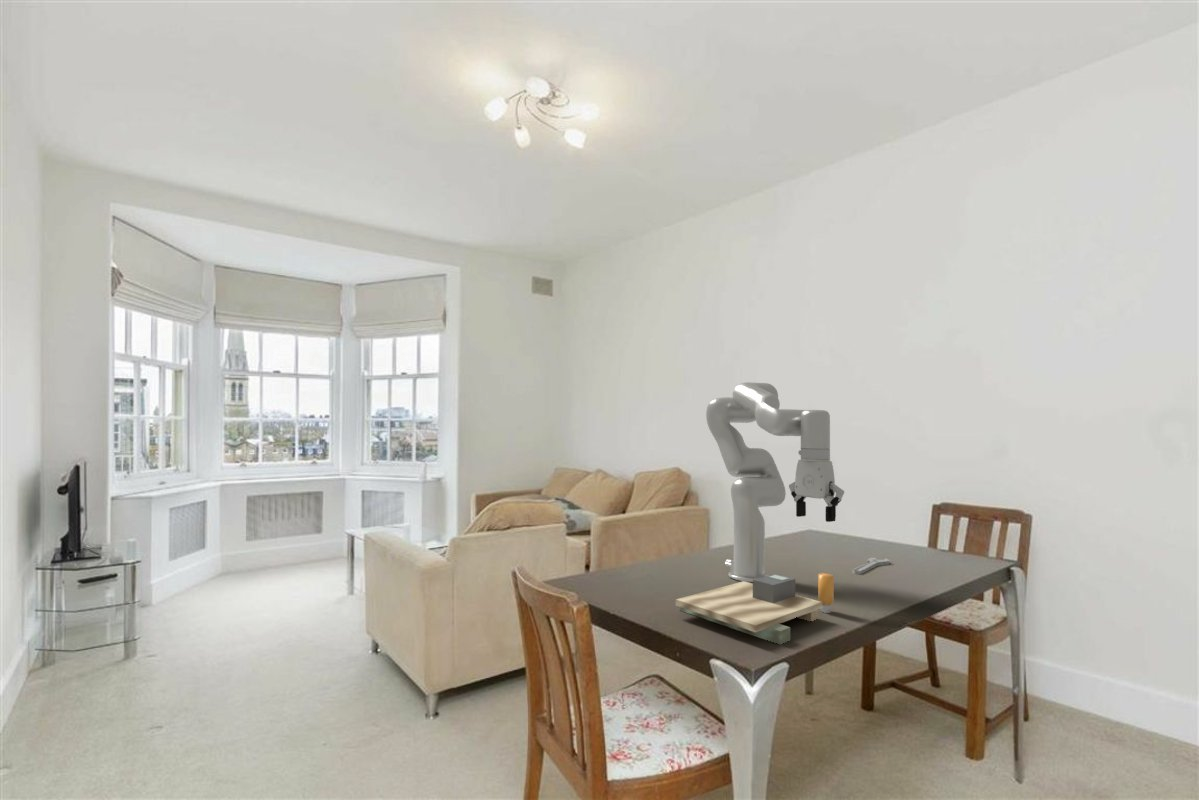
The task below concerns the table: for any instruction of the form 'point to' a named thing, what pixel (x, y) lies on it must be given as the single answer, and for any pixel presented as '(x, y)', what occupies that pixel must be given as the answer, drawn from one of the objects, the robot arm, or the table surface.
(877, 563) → the adjustable wrench
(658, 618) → the table surface
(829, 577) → the orange and grey cylinder
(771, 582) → the block
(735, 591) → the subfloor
